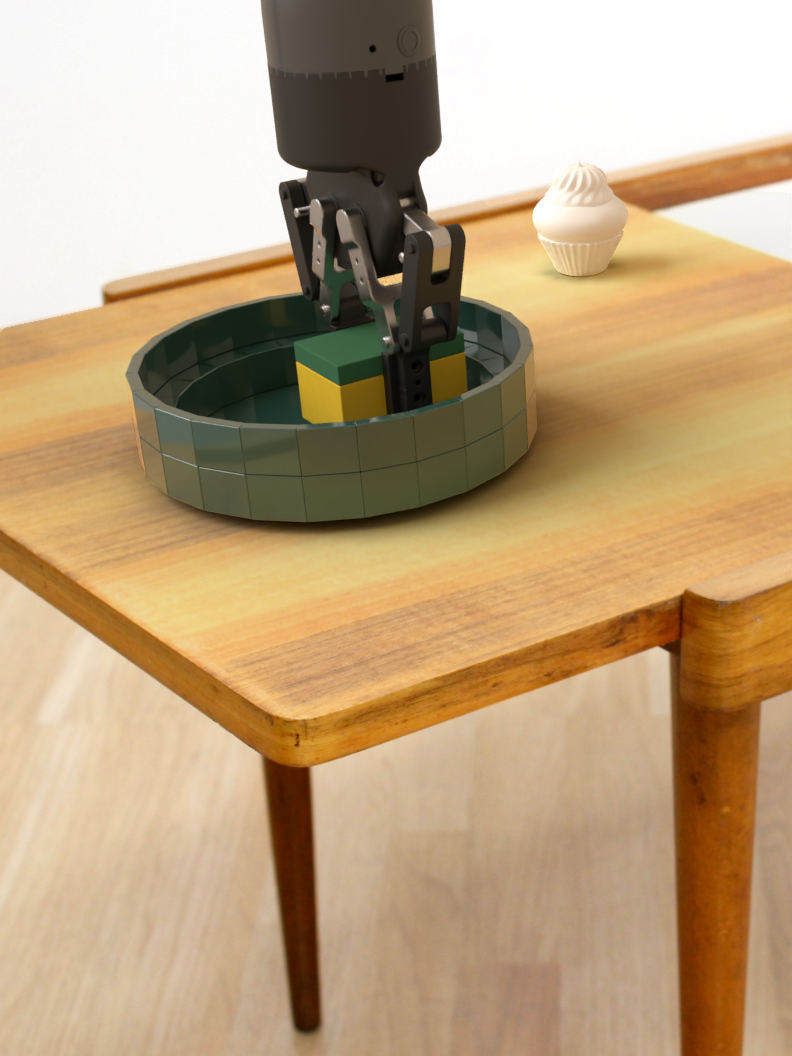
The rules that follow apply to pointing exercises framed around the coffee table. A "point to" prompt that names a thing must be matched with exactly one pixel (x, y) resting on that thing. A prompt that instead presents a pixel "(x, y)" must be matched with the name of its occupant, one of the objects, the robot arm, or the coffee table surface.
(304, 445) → the bowl
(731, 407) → the coffee table surface
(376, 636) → the coffee table surface
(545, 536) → the coffee table surface
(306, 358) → the sponge
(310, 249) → the robot arm
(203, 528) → the coffee table surface
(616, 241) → the muffin
